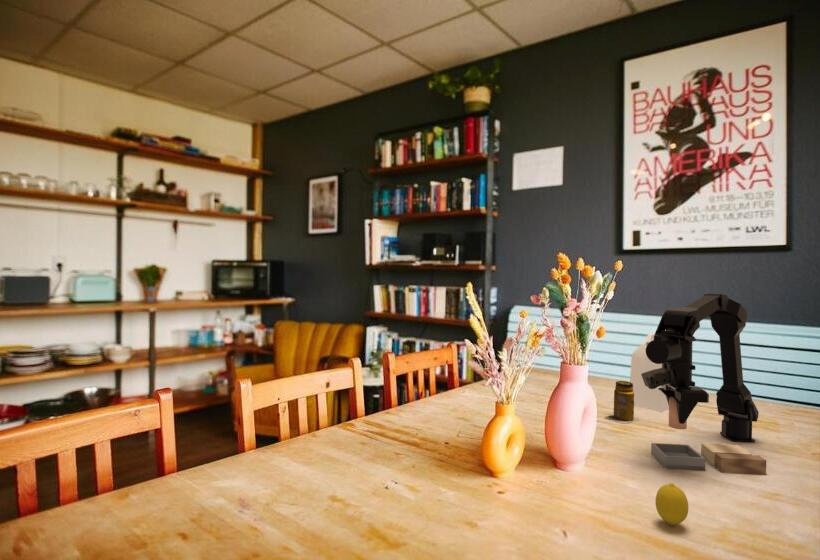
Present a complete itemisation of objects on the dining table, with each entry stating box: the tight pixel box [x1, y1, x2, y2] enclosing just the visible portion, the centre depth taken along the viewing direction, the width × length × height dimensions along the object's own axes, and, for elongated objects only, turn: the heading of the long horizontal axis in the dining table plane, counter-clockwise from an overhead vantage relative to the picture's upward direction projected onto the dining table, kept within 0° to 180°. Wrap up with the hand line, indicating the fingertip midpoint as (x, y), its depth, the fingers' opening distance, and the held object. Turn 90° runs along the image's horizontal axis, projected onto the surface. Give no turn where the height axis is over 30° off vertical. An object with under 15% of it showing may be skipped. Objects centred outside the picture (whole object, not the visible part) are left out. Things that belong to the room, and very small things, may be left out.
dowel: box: [668, 397, 688, 430], centre depth 121 cm, size 4×4×7 cm
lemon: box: [655, 482, 689, 526], centre depth 91 cm, size 6×6×8 cm
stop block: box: [714, 453, 767, 476], centre depth 116 cm, size 10×3×4 cm, turn 83°
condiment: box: [604, 380, 640, 425], centre depth 156 cm, size 7×8×12 cm
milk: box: [629, 332, 669, 413], centre depth 171 cm, size 12×12×26 cm
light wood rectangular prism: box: [700, 442, 753, 468], centre depth 120 cm, size 9×6×4 cm, turn 82°
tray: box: [650, 442, 707, 472], centre depth 121 cm, size 9×9×3 cm
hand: (678, 420), depth 121 cm, fingers closed on dowel, 4 cm apart
